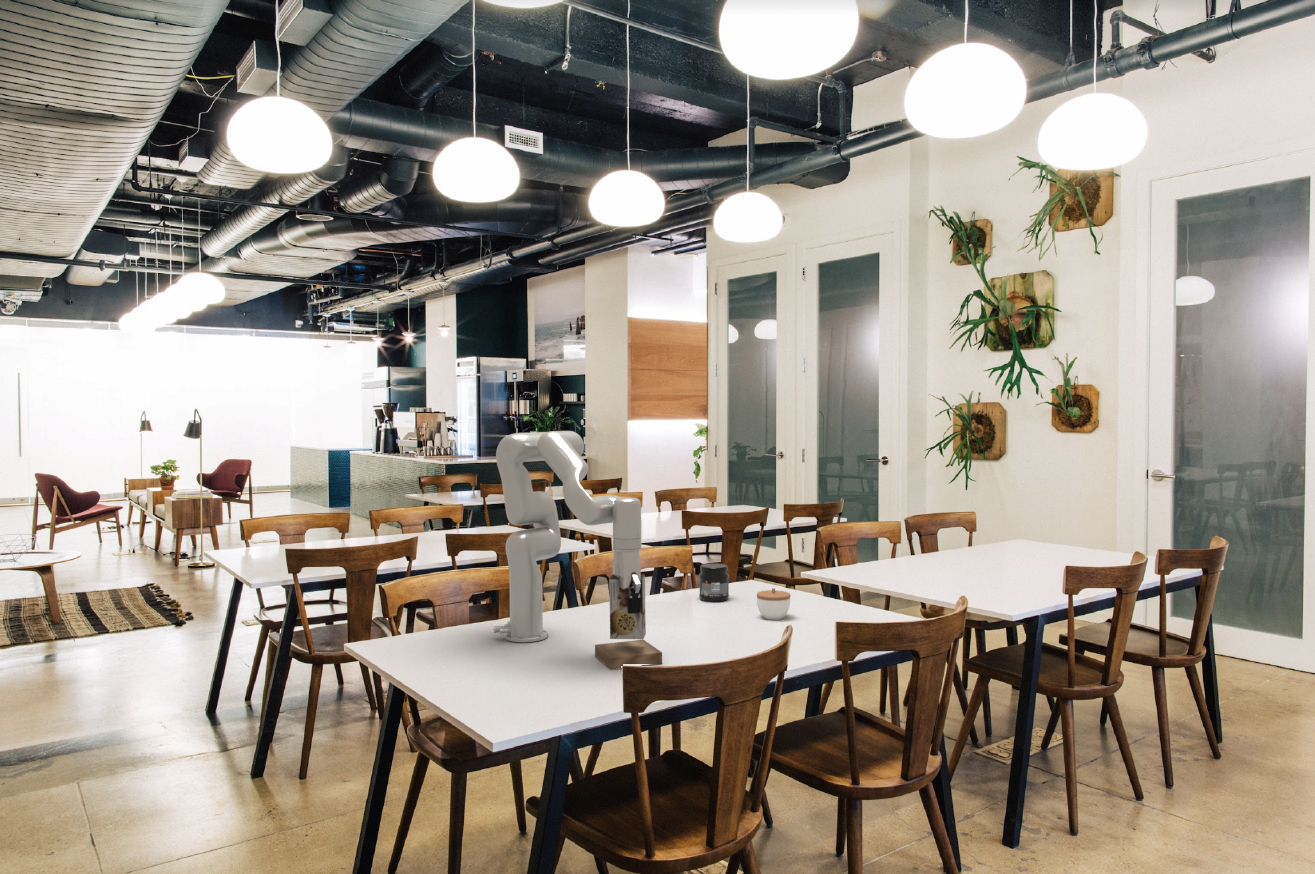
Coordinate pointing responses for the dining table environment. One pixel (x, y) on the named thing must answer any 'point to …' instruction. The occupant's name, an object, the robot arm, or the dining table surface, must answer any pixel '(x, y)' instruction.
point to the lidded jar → (773, 603)
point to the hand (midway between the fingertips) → (627, 609)
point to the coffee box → (626, 612)
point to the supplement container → (714, 583)
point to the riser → (627, 653)
